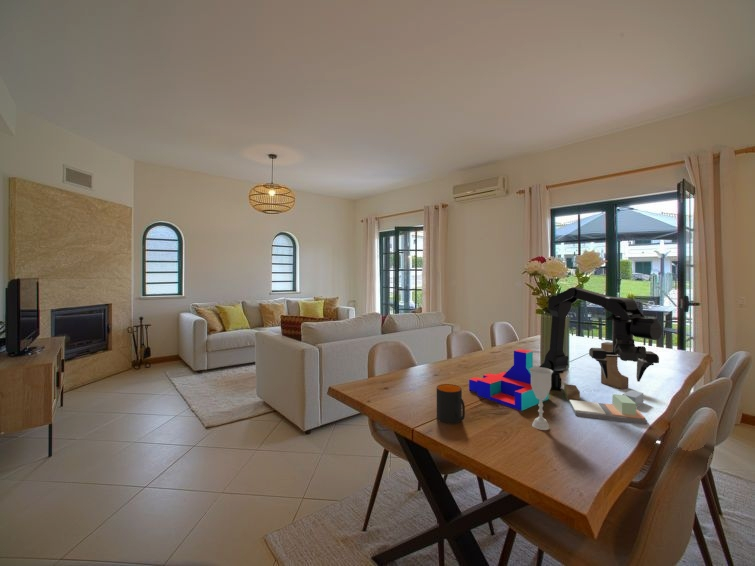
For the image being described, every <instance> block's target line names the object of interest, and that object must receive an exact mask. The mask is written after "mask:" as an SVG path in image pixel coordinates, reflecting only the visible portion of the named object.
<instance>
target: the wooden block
mask: <svg viewBox="0 0 755 566" xmlns="http://www.w3.org/2000/svg"><path fill="white" fill-rule="evenodd" d="M600 346H601V348H602V349H604V350H605V351H611V352H612V342H609V341H606V342H601V343H600ZM616 355H618V354H616ZM605 359H606V360H607V373H608V377H607V379H606V378H605V376H604V373H603V371H602V368H601V367H600V383H601V384H604V385H607V386H610V387H614V388H617V389H621V390H624V389H628V388H629V377H628V376H626V375H624V374H622V373H621V372H620V370H619V367H618V357H606V358H605Z"/></svg>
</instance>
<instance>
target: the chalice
mask: <svg viewBox="0 0 755 566" xmlns="http://www.w3.org/2000/svg"><path fill="white" fill-rule="evenodd" d="M529 370H530V372H531V386H532V389H533V392H534V394H535V396H536V398H537V399H539V404H537V405H538V410H537V412H538V416H537V417H535V418H534V420H533V422H532V423H531V424H532V428H534V429H537V430H539V431H540V430H541V431H548V430H550V425H549V423H548V421H547V419H546V418H544V417H543V414H544V413H545V411H544V409H543V407H544V403H543V402H544V401H543V400H544V399H546V397H547V395H548V394H549V395H550V392H551V390H552V389H551V374H552V373H553V371H552V370H551V369H548V368H542V367H540V366H533V367H532V368H530V369H529ZM542 401H543V402H542Z"/></svg>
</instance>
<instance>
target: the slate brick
mask: <svg viewBox="0 0 755 566" xmlns="http://www.w3.org/2000/svg"><path fill="white" fill-rule="evenodd" d="M621 395H626V396H627V397H628V398H630V399H631V400H632V401H634V402H635V403H636V408H639V406H641V405H643V404H644V392H641V391H636V390H632V389H630V390H628V391H627V392H624V393H622V394H621Z"/></svg>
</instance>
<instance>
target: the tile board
mask: <svg viewBox="0 0 755 566" xmlns="http://www.w3.org/2000/svg"><path fill="white" fill-rule="evenodd" d="M568 403H569V406H570V408H571V409H572V411H573V413H574V415H575V416H577V417H584V418H591V419H592V418H594V419H601V420H608V421H609V420H610V421H616V422H617V421H618V422H625V423H627V422H628V423H634V424H641V425H642V424H643V425H647V424H648V420H647V418H646V417H645V416H644V415H643V414H642V413H641V412H640V411H639V409H637V408H636V416H634V415H623V414H621V413H620V412H619V411H618V410H617V409H616V408H615V407H614V406H613V405H612V403H606V402H605V403H604V402H603V403H601V402H594V401H585V400H584V401H583V400H580V401H577V400H569V401H568Z"/></svg>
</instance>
